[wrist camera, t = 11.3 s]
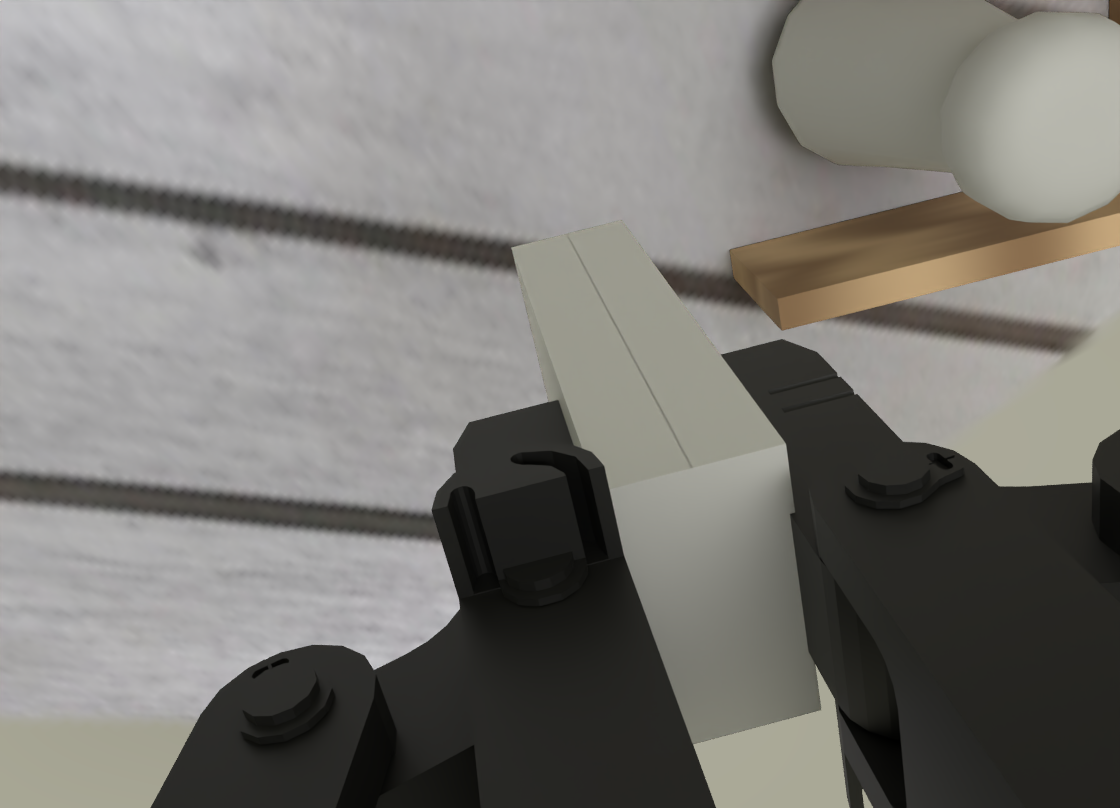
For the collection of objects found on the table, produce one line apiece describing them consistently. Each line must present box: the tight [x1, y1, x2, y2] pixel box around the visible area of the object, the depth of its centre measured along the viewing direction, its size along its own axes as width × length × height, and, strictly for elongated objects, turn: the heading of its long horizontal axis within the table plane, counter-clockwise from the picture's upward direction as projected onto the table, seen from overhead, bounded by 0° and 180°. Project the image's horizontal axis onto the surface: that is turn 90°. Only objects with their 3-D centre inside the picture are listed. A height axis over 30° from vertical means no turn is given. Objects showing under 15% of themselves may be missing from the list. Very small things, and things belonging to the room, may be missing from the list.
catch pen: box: [730, 0, 1120, 330], centre depth 31 cm, size 14×13×5 cm
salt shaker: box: [772, 0, 1120, 223], centre depth 27 cm, size 6×6×13 cm
